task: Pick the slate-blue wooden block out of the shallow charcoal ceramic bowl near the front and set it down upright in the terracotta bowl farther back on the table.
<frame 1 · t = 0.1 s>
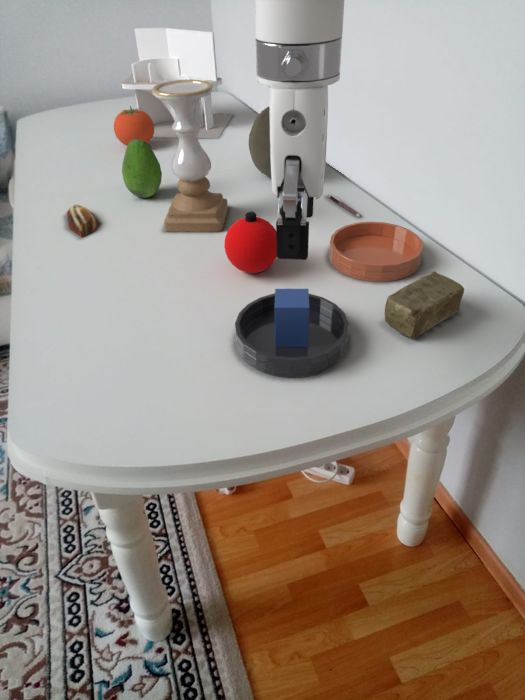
hand: (295, 235, 57), 18 cm above the table, tool pointing down, fingers open, 9 cm apart
fruit: (146, 196, 112), on the table
decorative stone: (80, 222, 103), on the table
pen: (343, 208, 105), on the table
terracotta bowl: (374, 257, 88), on the table
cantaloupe: (281, 176, 118), on the table
candle holder: (197, 219, 102), on the table
charcoal bowl: (291, 340, 72), on the table
tomato: (137, 147, 136), on the table
blue block: (291, 337, 71), point 1 cm above the table, touching charcoal bowl
ornament: (253, 270, 87), on the table
stone block: (421, 319, 75), on the table
architectural model: (178, 126, 150), on the table
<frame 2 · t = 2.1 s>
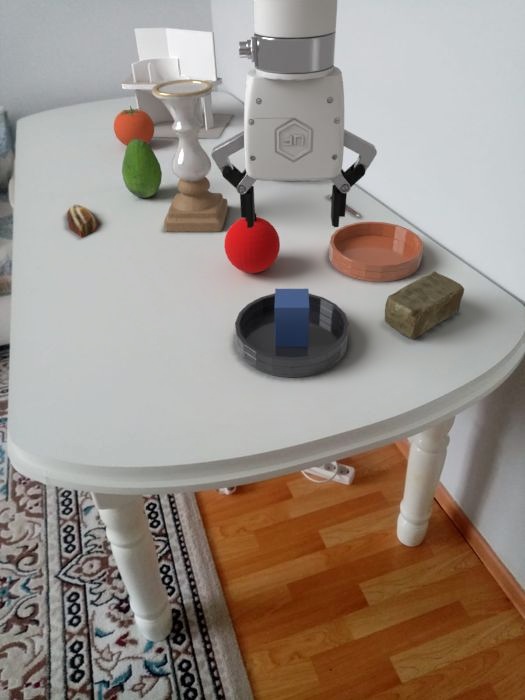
hand: (292, 222, 60), 18 cm above the table, tool pointing down, fingers open, 9 cm apart
nothing on the table moved.
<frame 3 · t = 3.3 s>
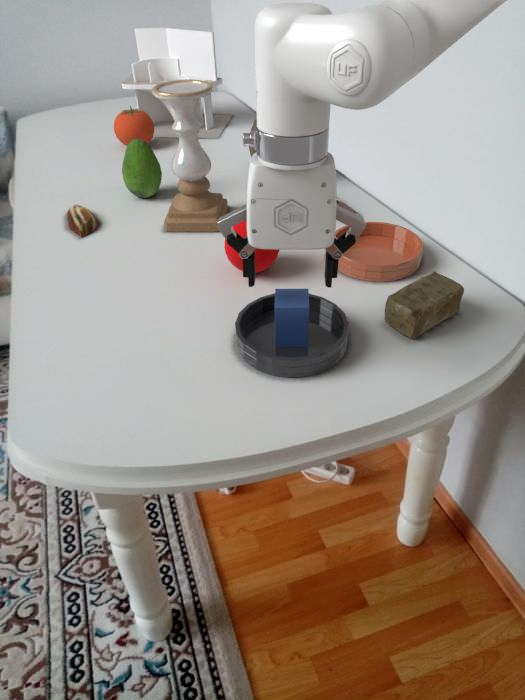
hand: (289, 281, 66), 10 cm above the table, tool pointing down, fingers open, 9 cm apart
nothing on the table moved.
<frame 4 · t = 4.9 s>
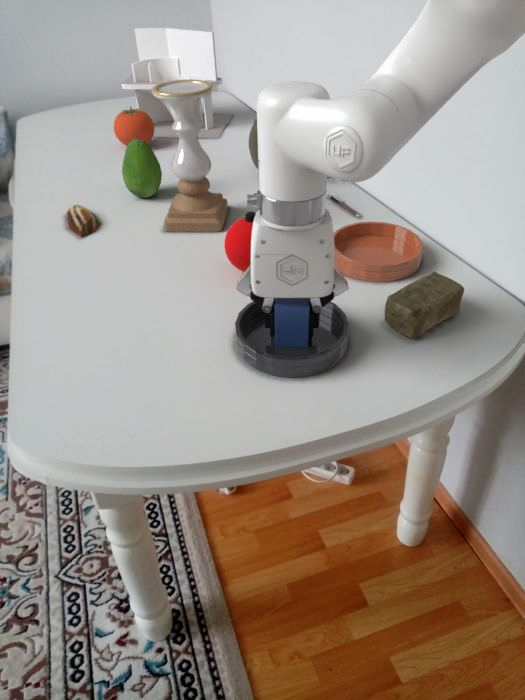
hand: (291, 329, 71), 2 cm above the table, tool pointing down, fingers closed on blue block, 4 cm apart
blue block: (291, 337, 71), point 1 cm above the table, touching charcoal bowl, gripper
everything else where it was.
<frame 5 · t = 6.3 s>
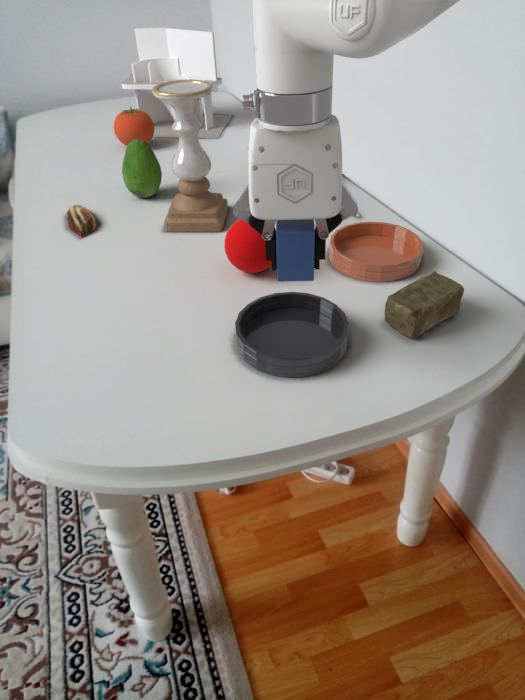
hand: (295, 263, 64), 12 cm above the table, tool pointing down, fingers closed on blue block, 4 cm apart
blue block: (295, 272, 65), point 11 cm above the table, touching gripper
everything else where it was.
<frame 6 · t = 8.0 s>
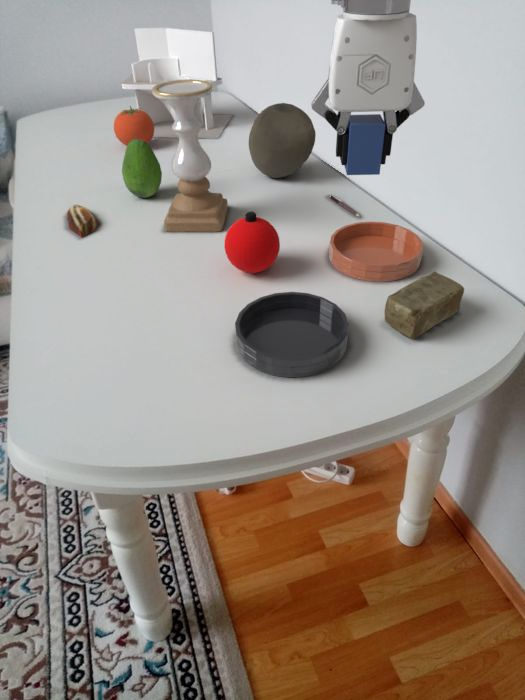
hand: (362, 159, 71), 19 cm above the table, tool pointing down, fingers closed on blue block, 4 cm apart
blue block: (361, 168, 71), point 18 cm above the table, touching gripper
everything else where it was.
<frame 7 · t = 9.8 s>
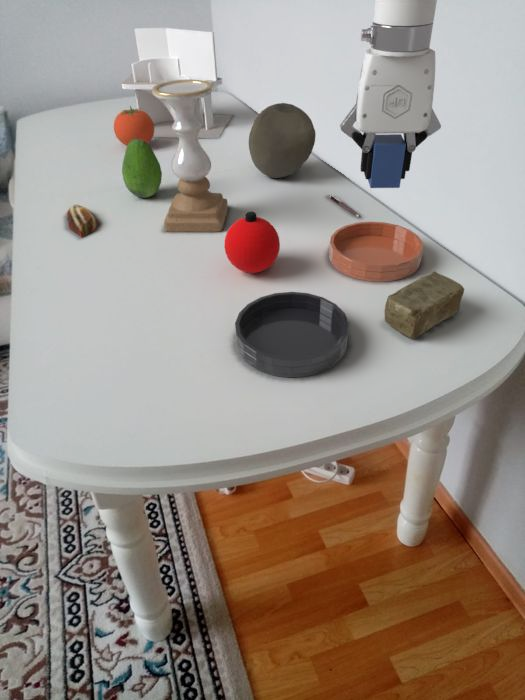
hand: (384, 174, 79), 14 cm above the table, tool pointing down, fingers closed on blue block, 4 cm apart
blue block: (382, 182, 80), point 13 cm above the table, touching gripper
everything else where it was.
when the fingers open (2 cm above the table, at t = 13.0 s): blue block stays where it is, resting on terracotta bowl.
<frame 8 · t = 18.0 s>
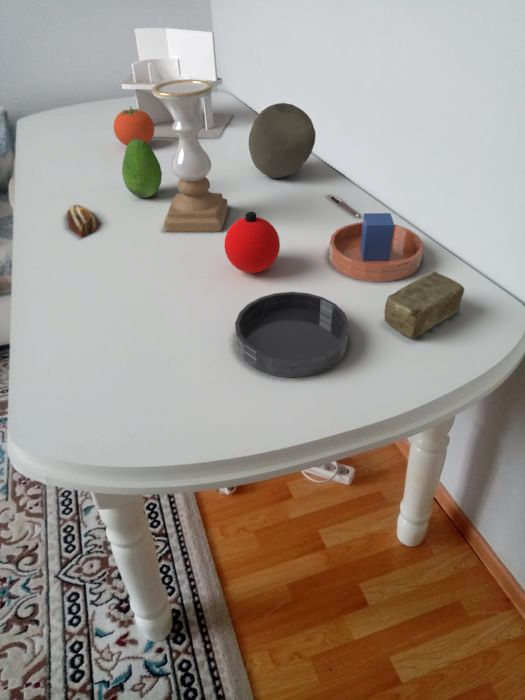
blue block: (374, 254, 88), point 1 cm above the table, touching terracotta bowl
everything else where it was.
at the end: blue block inside the target area in the terracotta bowl (0.1 cm from its centre), point 0.6 cm above the terracotta bowl's base; blue block tilted 0°; blue block touching terracotta bowl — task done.
